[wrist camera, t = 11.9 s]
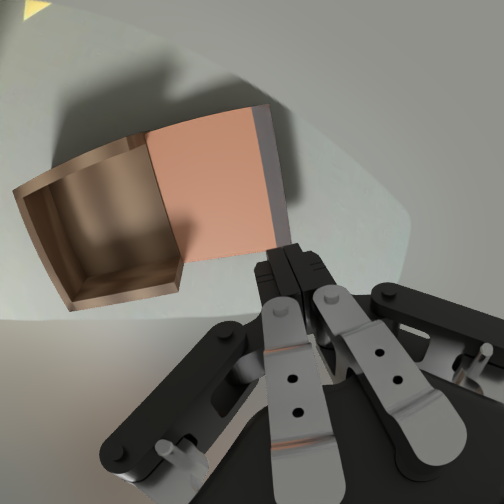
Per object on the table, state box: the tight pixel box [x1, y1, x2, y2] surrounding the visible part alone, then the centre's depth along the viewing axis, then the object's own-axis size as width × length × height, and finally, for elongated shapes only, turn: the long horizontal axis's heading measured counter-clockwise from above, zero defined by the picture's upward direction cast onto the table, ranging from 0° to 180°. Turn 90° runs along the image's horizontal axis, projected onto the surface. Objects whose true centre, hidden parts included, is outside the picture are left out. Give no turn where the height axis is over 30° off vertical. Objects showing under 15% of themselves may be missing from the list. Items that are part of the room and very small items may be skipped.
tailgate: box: [144, 104, 292, 263], centre depth 27 cm, size 1×15×12 cm
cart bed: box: [13, 130, 184, 312], centre depth 26 cm, size 14×15×8 cm
